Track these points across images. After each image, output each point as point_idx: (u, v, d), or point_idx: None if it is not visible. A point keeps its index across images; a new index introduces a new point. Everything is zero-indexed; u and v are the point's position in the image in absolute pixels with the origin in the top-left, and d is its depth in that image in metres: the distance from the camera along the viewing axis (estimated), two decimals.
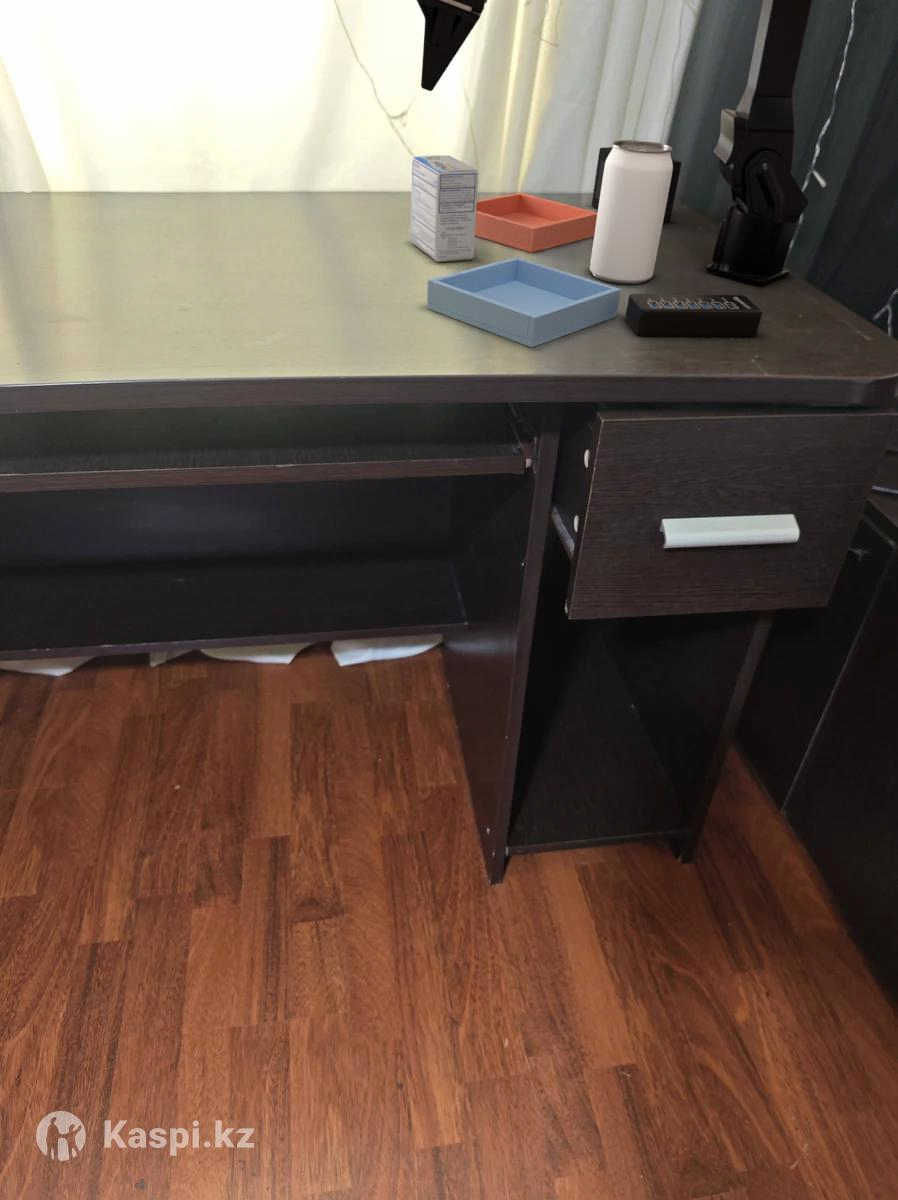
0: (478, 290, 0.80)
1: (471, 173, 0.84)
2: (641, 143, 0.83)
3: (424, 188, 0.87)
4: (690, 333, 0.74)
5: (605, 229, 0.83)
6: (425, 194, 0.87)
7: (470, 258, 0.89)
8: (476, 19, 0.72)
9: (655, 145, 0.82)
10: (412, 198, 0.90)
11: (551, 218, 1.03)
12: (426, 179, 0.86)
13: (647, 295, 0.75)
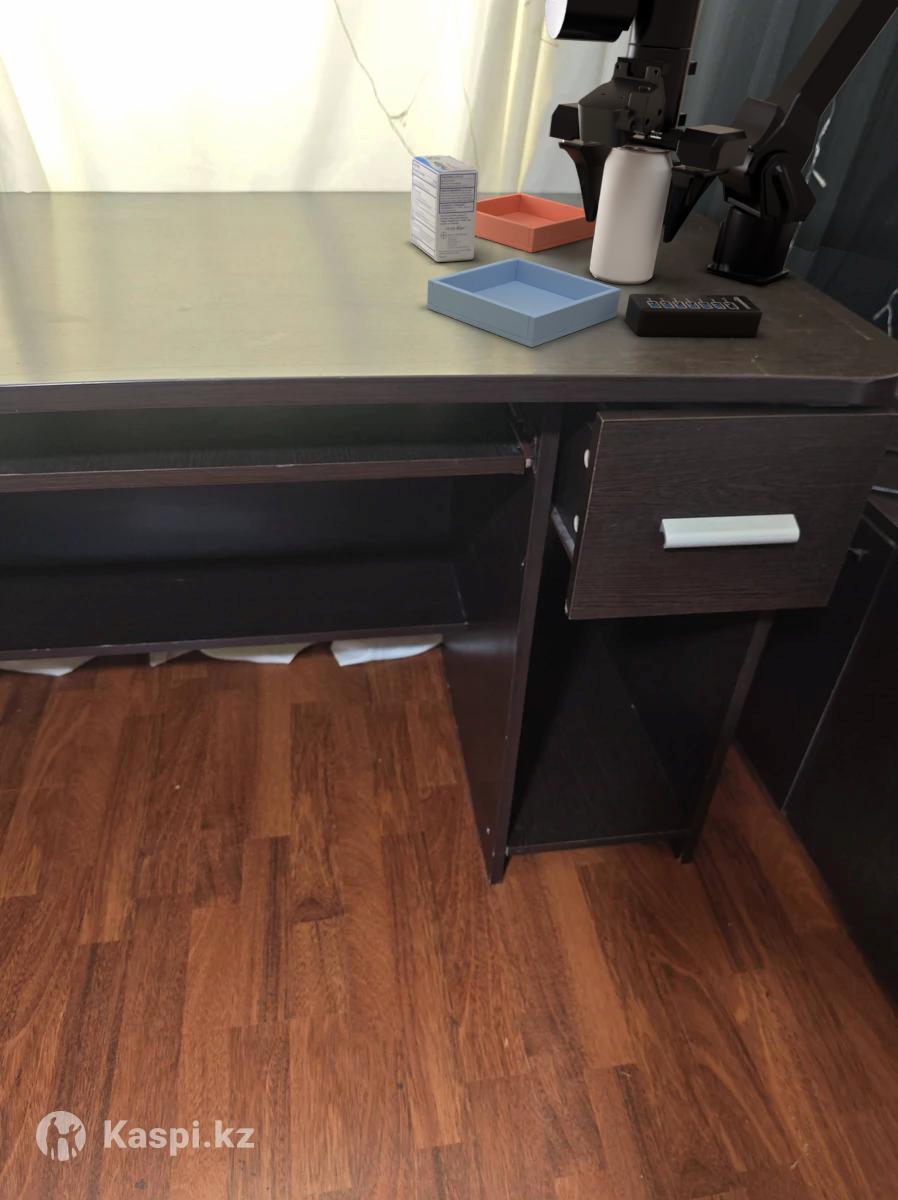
0: (478, 290, 0.80)
1: (471, 173, 0.84)
2: None
3: (424, 188, 0.87)
4: (690, 333, 0.74)
5: (605, 229, 0.83)
6: (425, 194, 0.87)
7: (470, 258, 0.89)
8: None
9: None
10: (412, 198, 0.90)
11: (551, 218, 1.03)
12: (425, 179, 0.86)
13: (647, 295, 0.75)
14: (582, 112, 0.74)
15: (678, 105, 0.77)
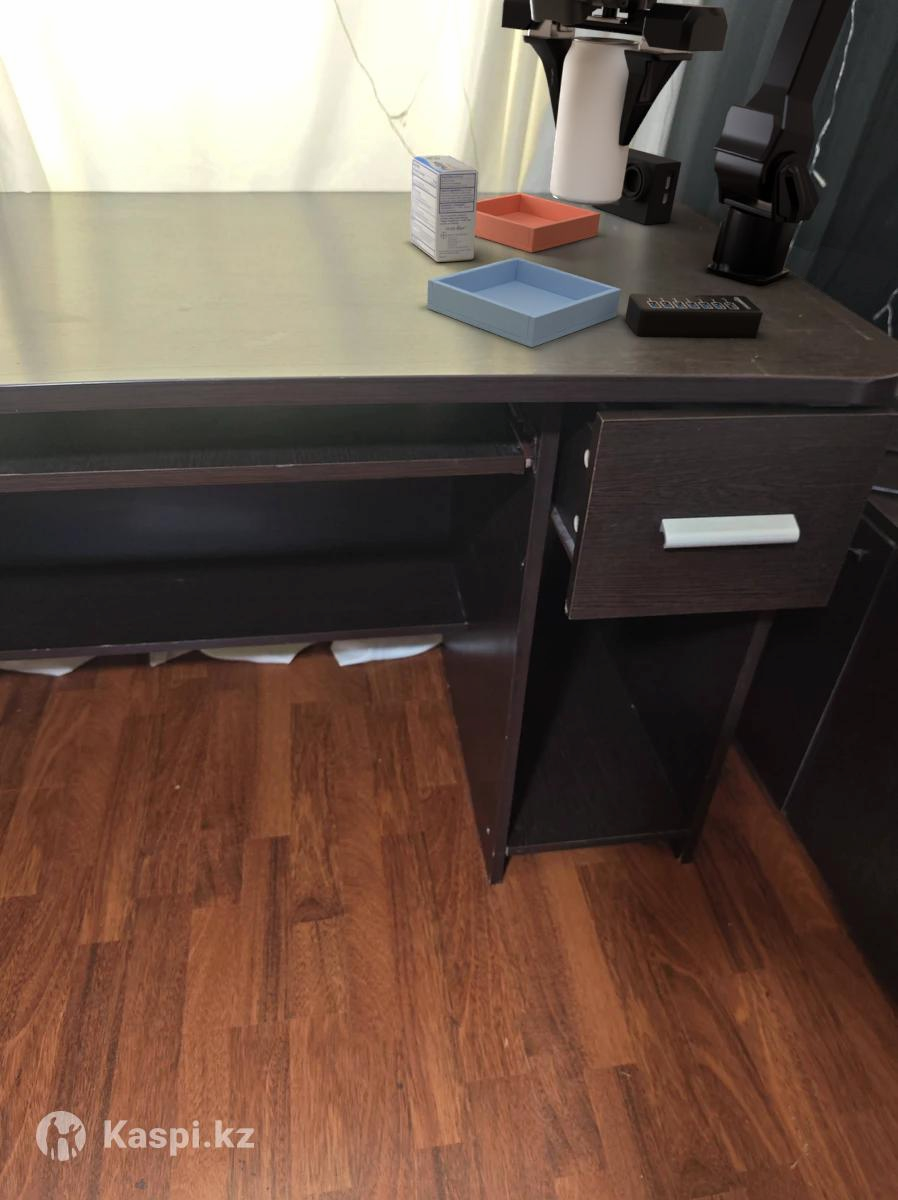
0: (478, 290, 0.80)
1: (471, 173, 0.84)
2: (606, 40, 0.72)
3: (424, 188, 0.87)
4: (690, 333, 0.74)
5: (564, 139, 0.73)
6: (425, 194, 0.87)
7: (470, 258, 0.89)
8: (691, 57, 0.68)
9: (622, 42, 0.72)
10: (412, 198, 0.90)
11: (551, 218, 1.03)
12: (425, 179, 0.86)
13: (647, 295, 0.75)
14: None
15: None
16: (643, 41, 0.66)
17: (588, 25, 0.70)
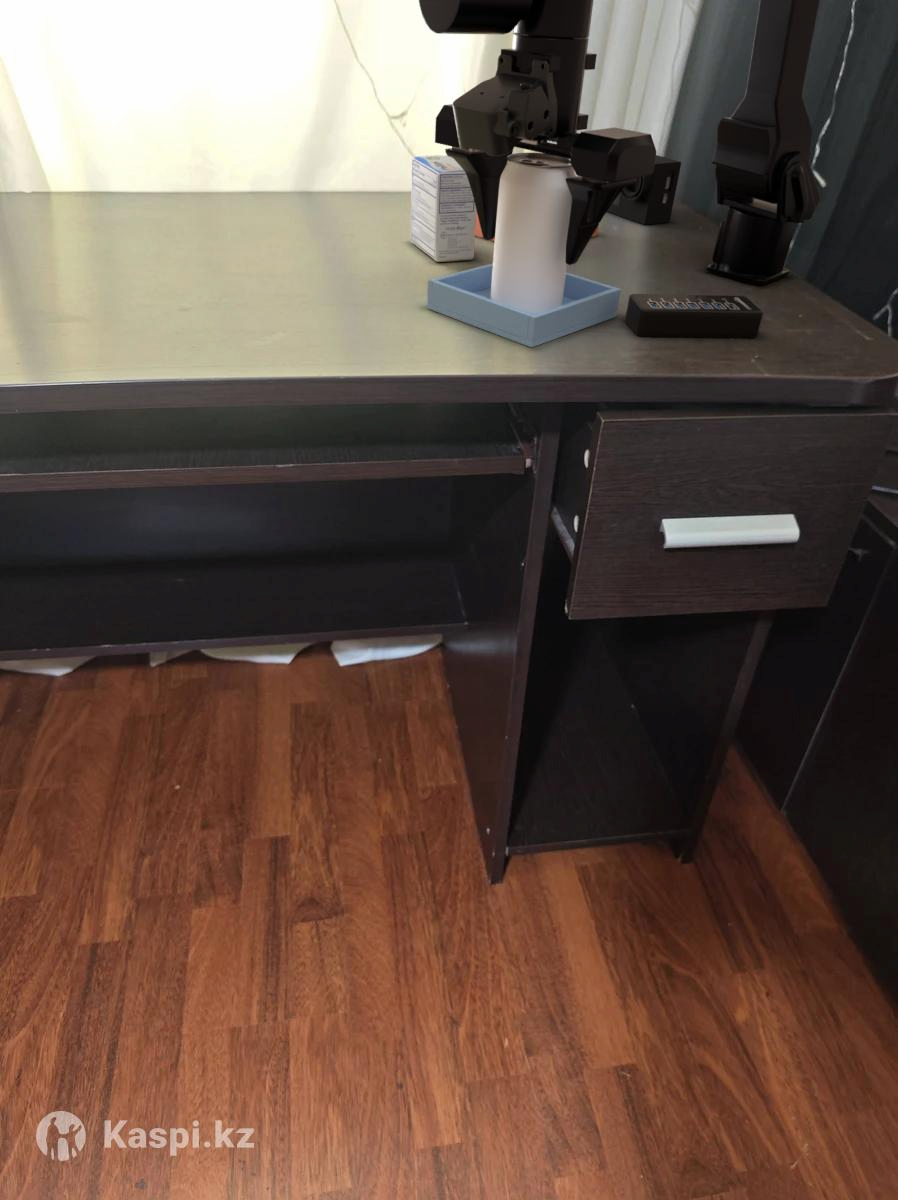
0: (478, 290, 0.80)
1: None
2: (543, 156, 0.72)
3: (424, 188, 0.87)
4: (690, 333, 0.74)
5: (502, 255, 0.72)
6: (425, 194, 0.87)
7: (470, 258, 0.89)
8: None
9: (558, 158, 0.71)
10: (412, 198, 0.90)
11: None
12: (425, 179, 0.86)
13: (647, 295, 0.75)
14: (457, 115, 0.63)
15: (575, 105, 0.66)
16: None
17: (520, 144, 0.69)
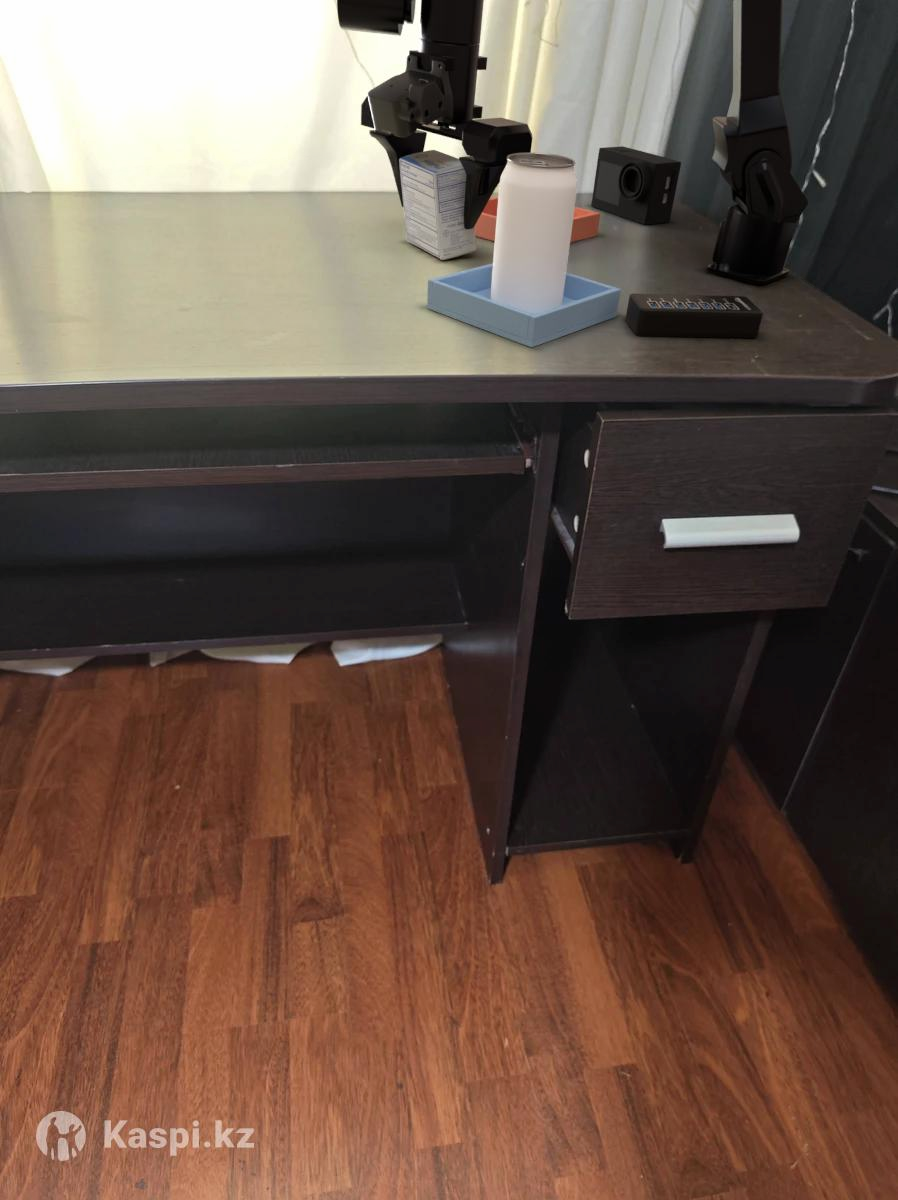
0: (478, 290, 0.80)
1: None
2: (543, 156, 0.72)
3: (418, 189, 0.87)
4: (689, 333, 0.74)
5: (502, 255, 0.72)
6: (420, 194, 0.87)
7: (473, 250, 0.90)
8: None
9: (558, 158, 0.71)
10: (404, 198, 0.90)
11: None
12: (419, 180, 0.86)
13: (648, 295, 0.75)
14: (371, 102, 0.79)
15: (468, 98, 0.81)
16: None
17: (428, 128, 0.85)
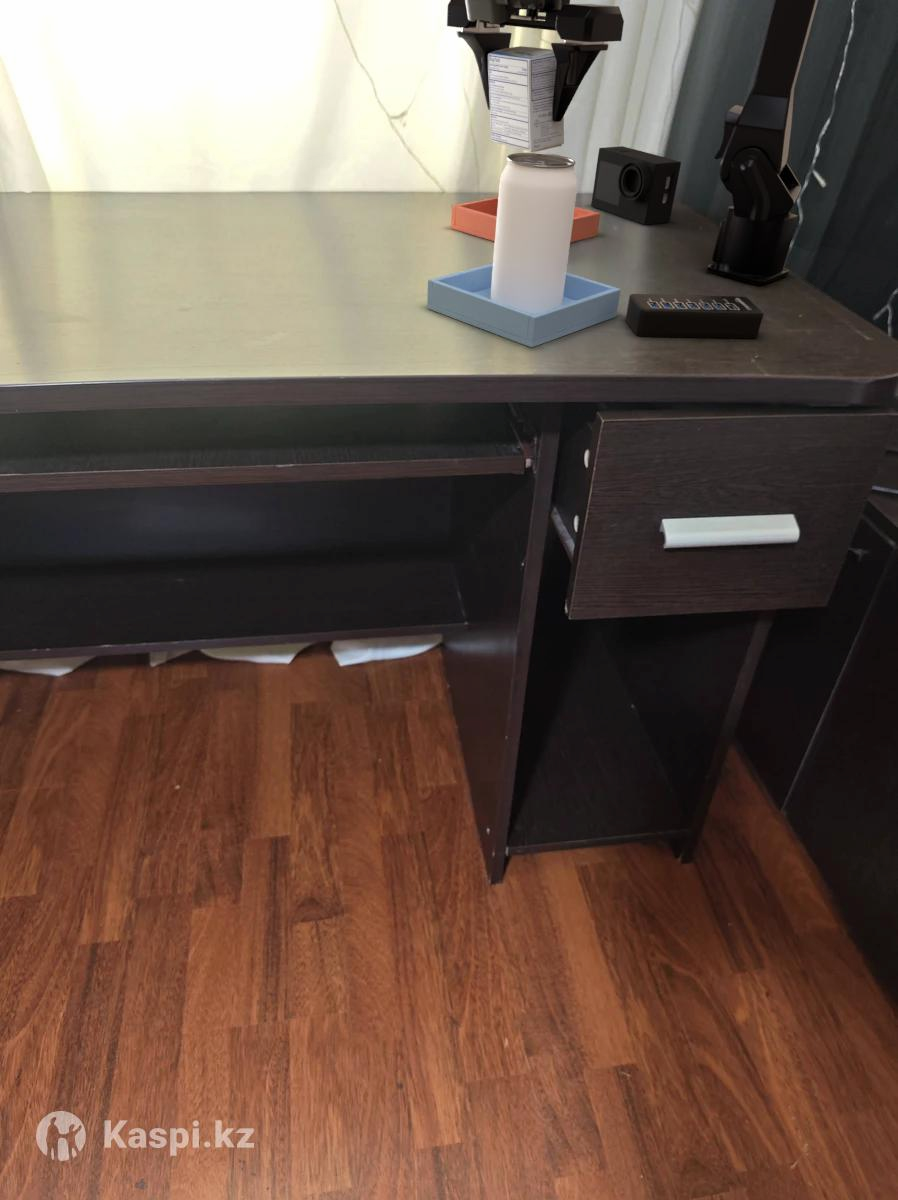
0: (478, 290, 0.80)
1: None
2: (543, 156, 0.72)
3: (509, 81, 0.88)
4: (690, 334, 0.74)
5: (502, 254, 0.72)
6: (510, 86, 0.88)
7: (561, 144, 0.91)
8: (607, 48, 0.84)
9: (558, 158, 0.71)
10: (491, 95, 0.91)
11: None
12: (510, 71, 0.87)
13: (648, 295, 0.75)
14: None
15: None
16: None
17: (516, 23, 0.87)
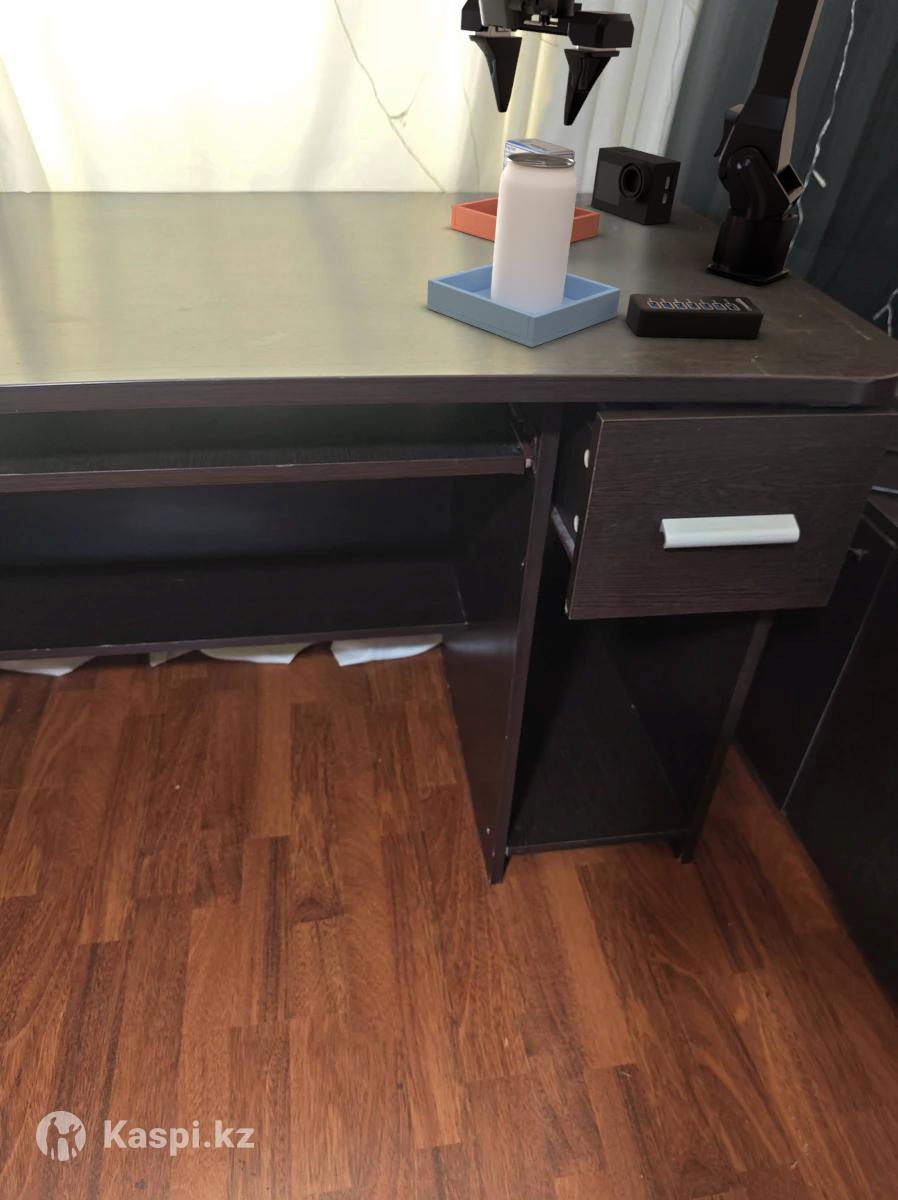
0: (478, 290, 0.80)
1: (569, 153, 0.92)
2: (543, 156, 0.72)
3: None
4: (690, 334, 0.74)
5: (502, 254, 0.72)
6: None
7: None
8: None
9: (559, 158, 0.71)
10: None
11: None
12: None
13: (648, 295, 0.75)
14: None
15: None
16: None
17: (528, 28, 0.88)
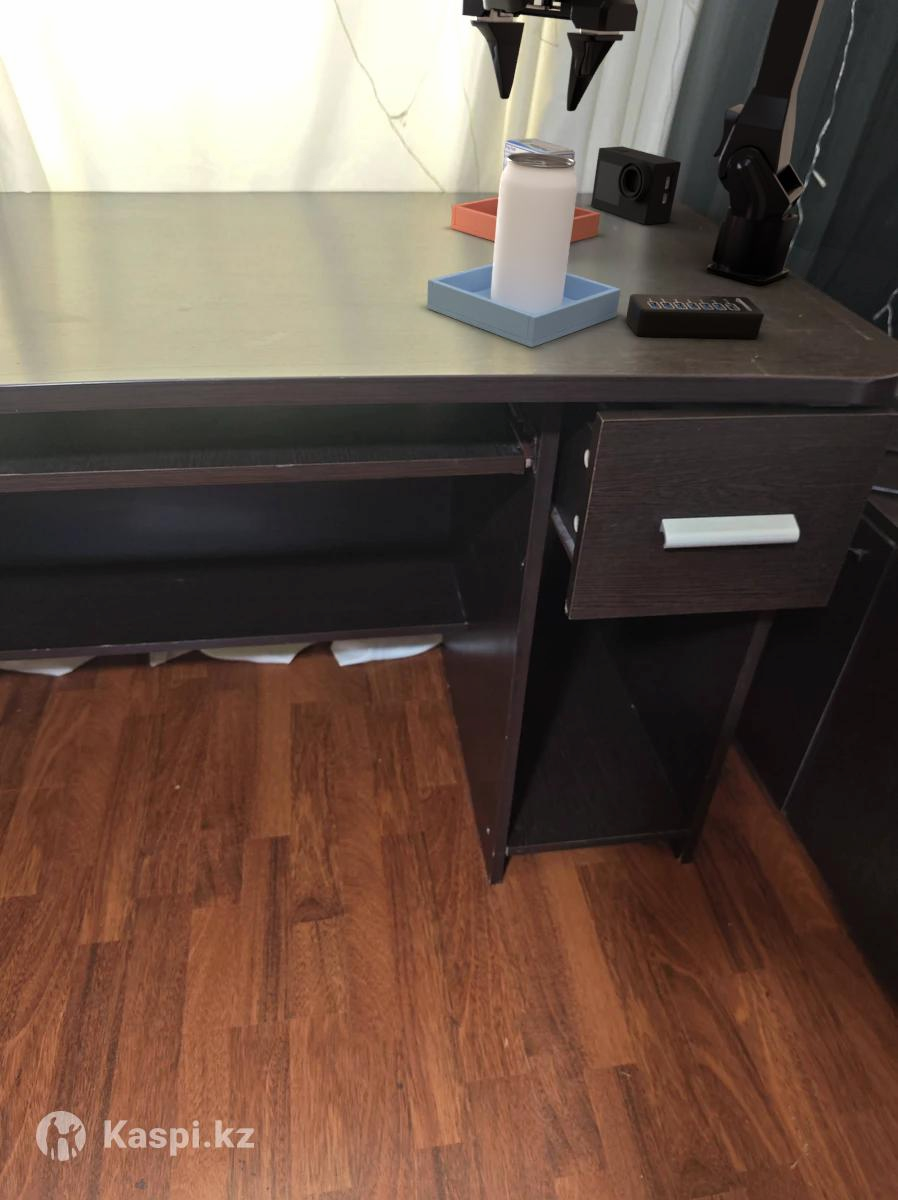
0: (478, 290, 0.80)
1: (569, 153, 0.92)
2: (543, 156, 0.72)
3: None
4: (690, 334, 0.74)
5: (502, 254, 0.72)
6: None
7: None
8: (622, 38, 0.85)
9: (559, 158, 0.71)
10: None
11: None
12: None
13: (648, 295, 0.75)
14: None
15: None
16: None
17: (530, 12, 0.88)
